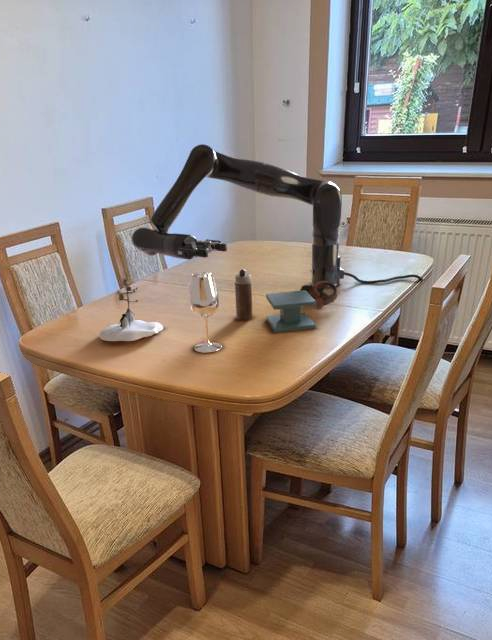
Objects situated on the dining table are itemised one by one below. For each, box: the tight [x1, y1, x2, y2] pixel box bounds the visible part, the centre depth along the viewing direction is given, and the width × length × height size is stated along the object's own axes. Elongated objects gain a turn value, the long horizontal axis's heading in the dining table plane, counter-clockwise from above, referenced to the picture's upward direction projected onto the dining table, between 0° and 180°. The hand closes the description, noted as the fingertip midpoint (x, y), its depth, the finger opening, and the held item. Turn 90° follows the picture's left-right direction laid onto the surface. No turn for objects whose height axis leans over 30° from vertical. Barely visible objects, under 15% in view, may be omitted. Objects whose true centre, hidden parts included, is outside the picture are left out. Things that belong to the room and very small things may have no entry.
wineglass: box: [188, 271, 222, 354], centre depth 155 cm, size 8×8×20 cm
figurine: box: [98, 277, 164, 342], centre depth 169 cm, size 20×18×16 cm
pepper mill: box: [234, 269, 254, 322], centre depth 176 cm, size 5×5×15 cm
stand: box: [265, 290, 317, 334], centre depth 170 cm, size 12×12×8 cm
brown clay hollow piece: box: [299, 281, 338, 309], centre depth 185 cm, size 12×10×8 cm
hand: (216, 250), depth 177 cm, fingers open, 8 cm apart
